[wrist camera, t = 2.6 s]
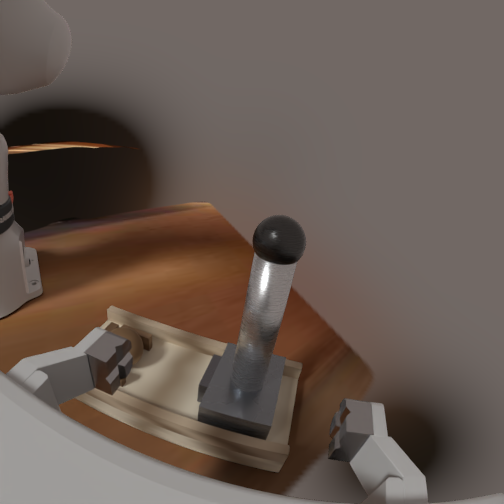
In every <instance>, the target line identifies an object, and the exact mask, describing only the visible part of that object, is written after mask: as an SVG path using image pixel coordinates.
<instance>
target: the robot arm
mask: <svg viewBox="0 0 504 504" xmlns="http://www.w3.org/2000/svg"><path fill="white" fill-rule="evenodd" d="M71 43H72V40H71V31H70V28H69V26H68V24H67V22H66V21H65V19H64V18H63V17H62V16H61V15H59V14H58V13H57V12H55V11H54V10H53V9H52V8H51V7H50V6H49V5H48V4H47V3H46V2H45V1H44V0H0V95H8V94H18V93H22V92H25V91H29V90H33V89H36V88H40V87H44V86H47V85H49V84H51V83H52V82H53V81H54V80H55V79H56V78H57V77H58V75H59V74H60V73H61V72H62V70H63V68H64V67H65V65H66V63H67V60H68V58H69V55H70V51H71ZM12 203H13V193H12V191H8V147H7V143H6V141H5V139H4V137H3V136H2V134H1V133H0V318H2V317H4V316H6V315H8V314H10V313H12V312H13V311H15V310H16V309H18V308H19V307H20V306H21V305H22V304H24V303H25V302H26V301H28V300H30V299H33V298H35V297H37V296H39V295H41V294H42V293H43V288H42V282H41V277H40V270H39V264H38V257H37V252H36V249H33V248H29V247H25V241H24V233H23V229H22V228H21V227H20V226H19V225H18V224H17V223H16V222H15V221H14V213H13V204H12ZM131 348H132V345H131V341H130V340H128V339H126V338H124V337H121V336H119V335H116V334H114V333H112V332H110V331H107V330H104V329H102V328H100V327H97V328H94V329H93V330H92V331H91V332H90V333H89V334H88V335H87V336H86V337H85V338H84V339H83V340H82V341H80V342H79V343H78V344H77V345H76V346H75V347H74V348H73V347H68V348H64V349H60V350H56V351H52V352H48V353H44V354H40V355H36V356H32V357H28V358H24V359H22V360H21V361H20V362H19V363H18V364H17V365H16V366H14V367H13V368H12V369H11V370H10V371H9V372H8V373H7V374H6V375H5V374H4V373H3V372H1V371H0V504H352V503H338V502H328V501H317V500H310V499H303V498H297V497H290V496H284V495H279V494H273V493H268V492H263V491H259V490H254V489H250V488H245V487H241V486H237V485H233V484H230V483H226V482H222V481H219V480H215V479H212V478H208V477H205V476H202V475H199V474H196V473H193V472H190V471H187V470H184V469H181V468H178V467H175V466H172V465H170V464H167V463H164V462H162V461H159V460H157V459H154V458H152V457H149V456H147V455H144V454H142V453H140V452H137V451H135V450H133V449H130V448H128V447H126V446H124V445H122V444H119V443H117V442H115V441H113V440H111V439H109V438H107V437H105V436H103V435H101V434H99V433H97V432H95V431H93V430H91V429H90V428H88V427H86V426H84V425H82V424H80V423H79V422H77V421H75V420H73V419H71V418H70V417H68V416H66V415H65V414H63V413H61V410H60V408H59V404H61V403H64V402H66V401H68V400H70V399H73V398H75V397H77V396H79V395H82V394H84V393H86V392H88V391H91V390H93V389H94V388H96V389H98V390H101V391H103V392H105V393H107V394H110V395H113V394H114V393H115V391H116V390H117V389H118V388H119V386H120V380H121V379H124V378H126V377H127V376H128V374H129V373H130V371H131V368H132V364H133V356H132V355H131V353H130V352H129V351H130V350H131ZM330 437H331V438H332V441H331V443H330V444H329V454H328V459H332V460H338V461H345V462H350V465H351V467H352V469H353V470H354V472H355V474H356V475H357V478H358V479H359V481H360V483H361V485H362V486H363V488H364V490H365V492H366V493H367V495H368V497H367V498H366V499H365V500H364V501H363V502H362V503H360V504H504V493H498V494H493V495H487V496H482V497H476V498H470V499H463V500H457V501H456V500H455V501H448V502H438V503H428V495H427V487H426V479H425V476H424V475H423V474H422V473H421V472H420V470H419V469H418V468H417V467H416V466H415V464H414V463H413V462H412V461H411V460H410V459H409V457H408V456H407V455H406V454H405V453H404V452H403V450H402V449H401V448H400V447H399V446H398V444H397V443H396V442H395V441H394V440H393V439H392V437H388V434H387V426H386V418H385V410H384V405H383V404H381V403H373V402H366V401H358V400H352V399H345V398H344V399H343V400H342V402H341V404H340V411H338V412H336V413H335V415H334V417H333V420H332V423H331V427H330Z"/></svg>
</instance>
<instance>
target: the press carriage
mask: <svg viewBox="0 0 504 504" xmlns="http://www.w3.org/2000/svg"><path fill="white" fill-rule="evenodd" d="M305 246H306V237H305V233H304V231H303V229H302V227H301V226H300V224H299V223H298V222H296V221H295V220H294V219H292V218H290V217H288V216H284V215H275V216H271V217H268V218H266V219H265V220H263V221H262V222H261V223H260V224H259V225H258V226H257V228H256V230H255V232H254V235H253V248H254V251H255V253H254V258H253V264H252V269H251V274H250V279H249V285H248V290H247V295H246V300H245V305H244V311H243V316H242V321H241V326H240V331H239V337H238V342H237V345H235V344H232V343H228V344H227V346H226V349H225V351H224V353H223V355H222V356H219V355H215V354H214V355H213V357H212V359H211V361H210V363H209V365H208V367H207V369H206V371H205V373H204V375H203V377H202V379H201V381H200V383H199V387H198V398H197V401H198V402H201V403H200V405H199V410H198V421H199V422H202V423H205V424H208V425H211V426H214V427H218V428H221V429H224V430H228V431H231V432H235V433H239V434H242V435H246V436H250V437H254V438H258V439H262V440H266V439H267V436H268V434H269V431H270V429H271V426H272V422H273V418H274V413H275V408H276V404H277V399H278V395H279V390H280V385H281V380H282V375H283V370H284V365H285V360H286V357H281V356H277V355H273V350H274V347H275V343H276V340H277V336H278V332H279V329H280V325H281V322H282V318H283V314H284V310H285V307H286V303H287V299H288V295H289V292H290V288H291V284H292V280H293V276H294V272H295V268H296V264H297V261H298V260H299V259H300V258H301V256H302V255H303V253H304V250H305Z"/></svg>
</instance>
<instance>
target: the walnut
mask: <svg viewBox="0 0 504 504" xmlns="http://www.w3.org/2000/svg"><path fill="white" fill-rule="evenodd" d="M111 332H112V333H114V334H116V335H119V336H121V337H124V338H126V339H128V340H130V341H131V345H132V348H131V350H130V351H129V352H130V353H131V355H132V356H133V364H135V363H137V362H138V361H139V360H140V358H141V357H142V354H143V350H144V346H143V341H142V339H141V337H140V336H139V334H138V333H137V332H136V331H134V330H133V329H131V328H128V327H118V328H116V329H114V330H112V331H111ZM133 364H132V365H133Z"/></svg>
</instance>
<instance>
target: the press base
mask: <svg viewBox="0 0 504 504" xmlns="http://www.w3.org/2000/svg"><path fill="white" fill-rule="evenodd" d="M107 314H108V320H107V321H106V322H105V323H104V324H103V325H102V326H101V327H100V328H102V329H104V330H107V331H110V332H111V331H112V330H114V329H116V328H118V327H128V328H131V329H133V330H134V331H136V332H137V333H138V334H139V336H140V337H141V339H142V341H143V346H144V350H143V354H142V357H141V358H140V360H139V361H138V362H137V363H135V364H133V365H132V368H131V371H130V373H129V374H128V376H127V377H126V378H124V379H121V380H120V386H119V388H118V389H117V390H116V391H115V393H114V394H113V395H110V394H107V393H105V392H103V391H101V390H98V389H96V388H94V389H93V390H91V391H88V392H86V393H84V394H82V395H79V396H77V397H75V398H76V399H78V400H79V401H81V402H83V403H85V404H87V405H89V406H91V407H93V408H94V409H96V410H98V411H100V412H102V413H104V414H106V415H109V416H111V417H113V418H115V419H117V420H119V421H121V422H123V423H126V424H128V425H130V426H132V427H135V428H137V429H139V430H142V431H144V432H146V433H149V434H151V435H154V436H156V437H159V438H161V439H164V440H167V441H169V442H172V443H175V444H177V445H180V446H183V447H186V448H189V449H192V450H195V451H198V452H201V453H204V454H207V455H210V456H214V457H217V458H220V459H224V460H227V461H231V462H235V463H238V464H242V465H246V466H250V467H254V468H259V469H263V470H268V471H272V472H277V473H279V471H280V469H281V468H282V466H283V464H284V462H285V461H286V459H287V457H288V455H289V450H290V445H287V444H288V439H289V433H290V427H291V421H292V415H293V409H294V403H295V396H296V390H297V383H298V378H299V375H300V373H301V370H302V363H300V362H295V361H291V360H287V359H286V360H285V365H284V370H283V375H282V380H281V385H280V390H279V395H278V399H277V404H276V408H275V413H274V418H273V422H272V426H271V429H270V431H269V434H268V436H267V439H266V440H262V439H258V438H254V437H250V436H246V435H242V434H239V433H235V432H231V431H228V430H224V429H221V428H218V427H214V426H211V425H208V424H205V423H202V422H199V421H198V410H199V405H200V403H201V402H198V401H197V398H198V387H199V383H200V381H201V379H202V377H203V375H204V373H205V371H206V369H207V367H208V365H209V363H210V361H211V359H212V357H213V355H214V354H215V355H219V356H222V355H223V353H224V351H225V349H226V346H227V344H226V343H222V342H219V341H215V340H212V339H209V338H205V337H202V336H199V335H196V334H192V333H189V332H186V331H183V330H180V329H177V328H174V327H170V326H167V325H164V324H161V323H158V322H156V321H153V320H150V319H147V318H144V317H141V316H138V315H136V314H133V313H130V312H127V311H125V310H122V309H119V308H116V307H114V306H111V307H110V308H108V309H107Z"/></svg>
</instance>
